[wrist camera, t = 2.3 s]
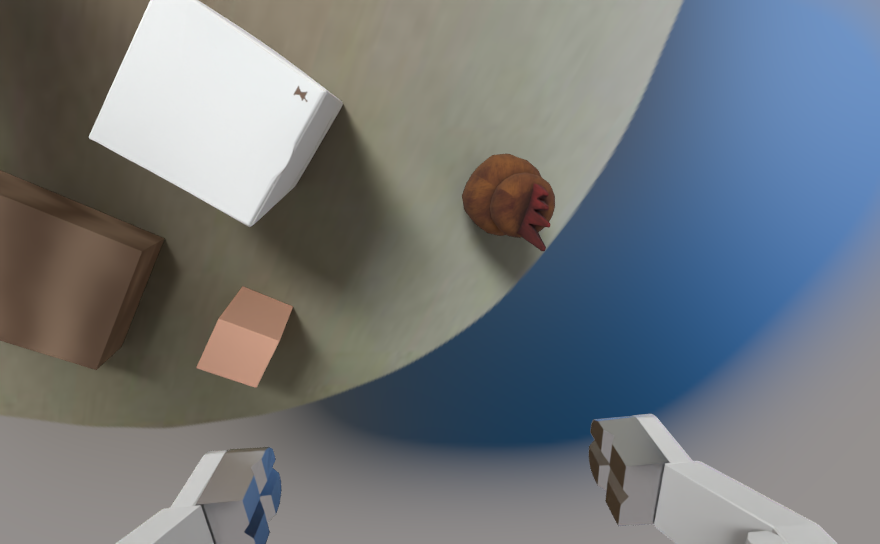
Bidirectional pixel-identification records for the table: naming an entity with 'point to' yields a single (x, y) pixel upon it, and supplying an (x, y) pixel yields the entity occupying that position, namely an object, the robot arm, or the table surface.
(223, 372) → the terracotta block
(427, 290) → the table surface
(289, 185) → the supplement box
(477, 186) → the wooden figurine
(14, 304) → the walnut stand
